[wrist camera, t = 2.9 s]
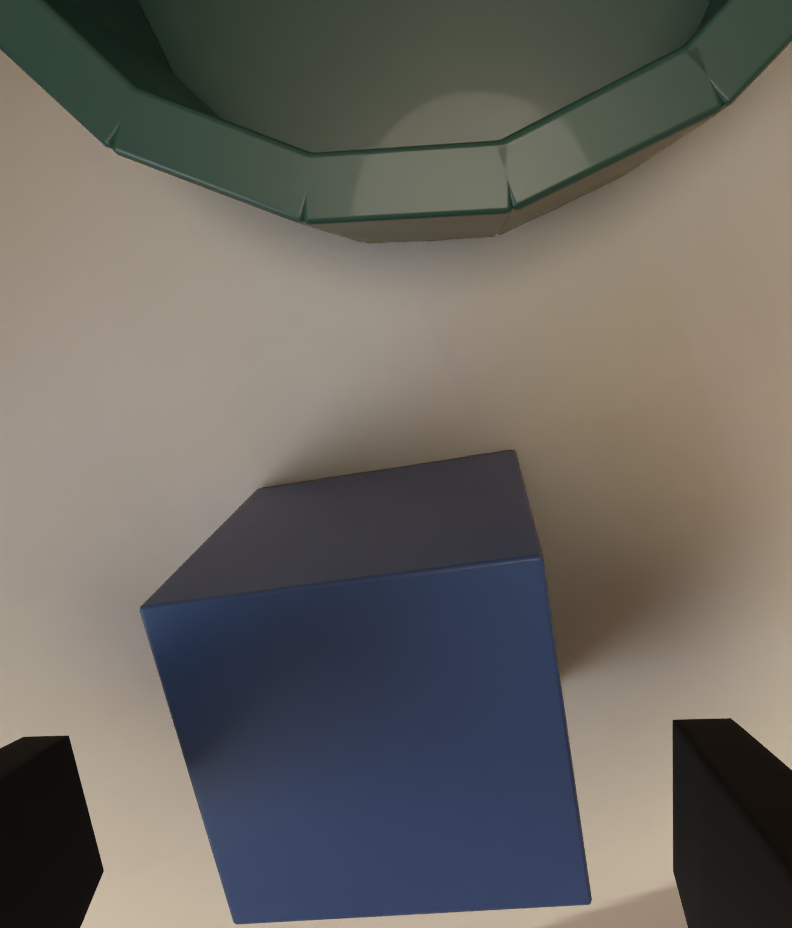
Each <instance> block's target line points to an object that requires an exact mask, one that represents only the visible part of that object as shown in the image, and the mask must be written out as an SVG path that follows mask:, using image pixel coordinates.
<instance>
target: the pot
mask: <svg viewBox="0 0 792 928" xmlns="http://www.w3.org/2000/svg"><path fill="white" fill-rule="evenodd" d="M791 41H792V0H0V49H1V50H2V51H3V52H4V53H5V54H6V55H7V56H8V57H9V58H10V59H12V60H13V61H14V62H15V63H16V64H17V65H18V66H19V67H20V68H21V69H22V70H23V71H25V72H26V73H27V74H28V75H29V76H30V77H31V78H32V79H33V80H34V81H35V82H36V83H38V84H39V85H40V86H41V87H42V88H43V89H44V90H45V91H46V92H47V93H48V94H49V95H51V96H52V97H53V98H54V99H55V100H56V101H57V102H58V103H59V104H60V105H61V106H62V107H64V108H65V109H66V110H67V111H68V112H69V113H70V114H71V115H72V116H73V117H74V118H75V119H76V120H78V121H79V122H80V123H81V124H82V125H83V126H84V127H85V128H86V129H87V130H88V131H89V132H91V133H92V134H93V135H94V136H95V137H96V138H97V139H98V140H99V141H100V142H101V143H102V144H104V145H105V146H106V147H108V148H111V149H113V150H114V152H115V153H117V154H118V155H120V156H123V157H125V158H128V159H131V160H133V161H136V162H138V163H141V164H144V165H146V166H149V167H152V168H154V169H157V170H160V171H162V172H165V173H168V174H170V175H173V176H175V177H178V178H181V179H183V180H186V181H189V182H191V183H194V184H197V185H199V186H202V187H205V188H207V189H210V190H213V191H215V192H218V193H220V194H223V195H226V196H228V197H231V198H234V199H236V200H239V201H242V202H244V203H247V204H250V205H252V206H255V207H257V208H260V209H263V210H265V211H268V212H271V213H273V214H276V215H279V216H281V217H284V218H287V219H289V220H292V221H295V222H297V223H300V224H304V225H307V226H310V227H313V228H317V229H320V230H323V231H326V232H330V233H333V234H336V235H340V236H343V237H346V238H349V239H353V240H356V241H359V242H366V243H382V242H401V241H437V240H445V239H459V238H478V237H493V236H496V234H503V233H505V232H507V231H509V230H511V229H513V228H515V227H518V226H520V225H522V224H524V223H526V222H528V221H530V220H532V219H534V218H536V217H538V216H540V215H542V214H544V213H547V212H549V211H552V210H554V209H556V208H558V207H560V206H562V205H564V204H566V203H567V202H569V201H571V200H573V199H575V198H577V197H580V196H582V195H584V194H586V193H588V192H590V191H592V190H594V189H596V188H598V187H600V186H602V185H604V184H606V183H608V182H610V181H613V180H615V179H617V178H619V177H621V176H623V175H624V174H626V173H627V172H629V171H630V170H632V169H633V168H635V167H636V166H638V165H639V164H641V163H643V162H644V161H646V160H647V159H649V158H650V157H652V156H653V155H655V154H656V153H658V152H659V151H661V150H662V149H664V148H665V147H667V146H669V145H670V144H672V143H673V142H675V141H676V140H678V139H679V138H681V137H682V136H684V135H685V134H687V133H688V132H690V131H691V130H693V129H695V128H696V127H698V126H699V125H701V124H702V123H704V122H705V121H707V120H708V119H710V118H711V117H713V116H714V115H716V114H717V113H718V112H720V111H721V110H723V109H724V108H726V107H727V106H729V105H731V104H732V103H733V102H734V101H735V99H736V98H737V97H738V96H739V95H740V94H741V93H742V92H743V91H744V90H745V89H746V88H747V87H748V86H749V85H750V84H751V83H752V82H753V81H754V80H755V79H756V78H757V77H758V76H759V75H760V74H761V72H762V71H763V70H764V69H765V68H766V67H767V66H768V65H769V64H770V63H771V62H772V61H773V60H774V59H775V58H776V57H777V56H778V55H779V54H780V53H781V52H782V51H783V50H784V49H785V48H786V46H787V45H788V44H789V43H790V42H791Z"/></svg>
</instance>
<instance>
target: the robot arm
mask: <svg viewBox="0 0 792 928" xmlns="http://www.w3.org/2000/svg"><path fill="white" fill-rule="evenodd" d="M103 871H104V870H103V866H102V862H101V858H100V854H99V851H98V847H97V843H96V839H95V835H94V831H93V827H92V824H91V820H90V816H89V812H88V808H87V804H86V800H85V797H84V793H83V789H82V785H81V781H80V777H79V773H78V770H77V766H76V762H75V758H74V754H73V750H72V747H71V743H70V739H69V736H39V737H23V738H21V739H19V740H17V741H14V742H12V743H10V744H8V745H6V746H4V747H2V748H1V749H0V928H80V926H81V924H82V922H83V920H84V917H85V915H86V912H87V910H88V908H89V905H90V903H91V900H92V898H93V896H94V893H95V891H96V888H97V886H98V883H99V881H100V879H101V876H102V874H103ZM673 872H674V876H675V879H676V883H677V887H678V891H679V894H680V898H681V902H682V906H683V910H684V913H685V917H686V921H687V925H688V928H792V770H791V769H790V768H788V767H787V766H786V765H785V764H784V763H783V762H781V761H780V760H779V759H778V758H777V757H776V756H775V755H773V754H772V753H771V752H770V751H769V750H768V749H766V748H765V747H764V746H763V745H762V744H761V743H759V742H758V741H757V740H756V739H755V738H754V737H752V736H751V735H750V734H749V733H748V732H746V731H745V730H744V729H743V728H742V727H741V726H739V725H738V724H737V723H736V722H734V721H733V720H732V719H731V718H727V719H689V720H673Z"/></svg>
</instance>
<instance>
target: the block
mask: <svg viewBox="0 0 792 928" xmlns="http://www.w3.org/2000/svg"><path fill="white" fill-rule="evenodd" d="M140 613H141V616H142V620H143V623H144V626H145V630H146V633H147V636H148V640H149V643H150V646H151V650H152V653H153V656H154V660H155V663H156V666H157V670H158V673H159V676H160V679H161V683H162V686H163V689H164V693H165V696H166V699H167V703H168V706H169V709H170V713H171V716H172V719H173V723H174V726H175V729H176V733H177V736H178V739H179V743H180V746H181V749H182V752H183V756H184V759H185V762H186V766H187V769H188V772H189V776H190V779H191V782H192V786H193V789H194V792H195V796H196V799H197V802H198V806H199V809H200V812H201V815H202V819H203V822H204V825H205V829H206V832H207V835H208V839H209V842H210V845H211V849H212V852H213V855H214V859H215V862H216V865H217V869H218V872H219V875H220V879H221V882H222V885H223V888H224V892H225V895H226V898H227V902H228V905H229V908H230V912H231V915H232V918H233V922H234V923H235V924H251V923H269V922H287V921H304V920H322V919H340V918H358V917H376V916H394V915H412V914H430V913H447V912H465V911H483V910H501V909H519V908H537V907H555V906H573V905H589V904H591V900H592V898H591V891H590V884H589V877H588V870H587V863H586V856H585V849H584V842H583V835H582V828H581V821H580V814H579V807H578V800H577V793H576V785H575V778H574V771H573V764H572V757H571V750H570V743H569V736H568V729H567V722H566V715H565V708H564V701H563V694H562V687H561V680H560V673H559V666H558V659H557V652H556V645H555V638H554V631H553V624H552V617H551V610H550V602H549V595H548V588H547V581H546V574H545V567H544V560H543V555H542V551H541V548H540V544H539V540H538V536H537V532H536V528H535V524H534V521H533V517H532V513H531V509H530V505H529V501H528V497H527V494H526V490H525V486H524V482H523V478H522V474H521V471H520V467H519V463H518V459H517V455H516V452H515V451H514V450H510V451H503V452H497V453H490V454H484V455H477V456H471V457H464V458H458V459H451V460H444V461H438V462H431V463H425V464H418V465H412V466H405V467H399V468H392V469H385V470H379V471H372V472H366V473H359V474H353V475H346V476H340V477H333V478H326V479H320V480H313V481H307V482H300V483H294V484H287V485H281V486H274V487H267V488H261V489H257V490H256V491H255V492H254V493H253V494H252V495H251V496H250V497H249V498H248V499H247V500H246V501H245V502H244V503H243V504H242V505H241V506H240V507H239V508H238V509H237V510H236V511H235V512H234V513H233V514H232V515H231V516H230V517H229V518H228V519H227V520H226V521H225V522H224V523H223V524H222V525H221V526H220V527H219V528H218V529H217V530H216V531H215V532H214V533H213V534H212V535H211V536H210V537H209V538H208V539H207V540H206V541H205V542H204V543H203V544H202V545H201V546H200V547H199V548H198V549H197V550H196V551H195V552H194V553H193V554H192V555H191V556H190V557H189V558H188V559H187V560H186V561H185V562H184V563H183V564H182V566H181V567H180V568H179V569H178V570H177V571H176V572H175V573H174V574H173V575H172V576H171V577H170V578H169V579H168V580H167V581H166V582H165V583H164V584H163V585H162V586H161V587H160V588H159V589H158V590H157V591H156V592H155V593H154V594H153V595H152V596H151V597H150V598H149V599H148V600H147V601H146V602H145V603H144V604H143V605H142V606H141V607H140Z"/></svg>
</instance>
